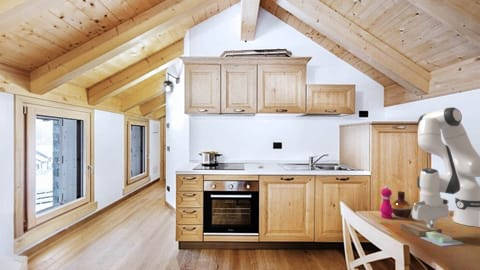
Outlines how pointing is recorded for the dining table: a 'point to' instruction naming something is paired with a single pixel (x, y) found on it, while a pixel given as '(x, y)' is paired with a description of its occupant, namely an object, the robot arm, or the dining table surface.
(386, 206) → the pepper mill
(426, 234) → the pale green flat block
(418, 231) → the deck
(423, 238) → the mat
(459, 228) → the dining table surface
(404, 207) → the vase
